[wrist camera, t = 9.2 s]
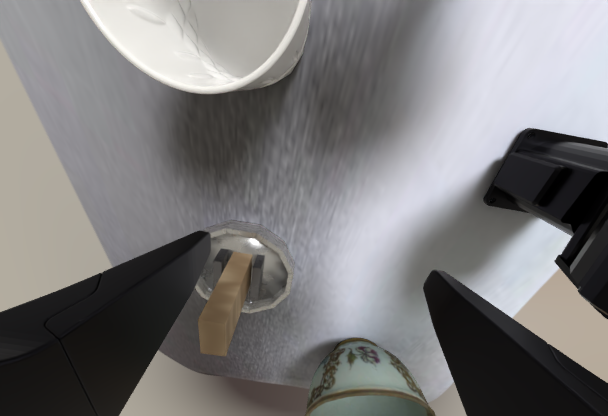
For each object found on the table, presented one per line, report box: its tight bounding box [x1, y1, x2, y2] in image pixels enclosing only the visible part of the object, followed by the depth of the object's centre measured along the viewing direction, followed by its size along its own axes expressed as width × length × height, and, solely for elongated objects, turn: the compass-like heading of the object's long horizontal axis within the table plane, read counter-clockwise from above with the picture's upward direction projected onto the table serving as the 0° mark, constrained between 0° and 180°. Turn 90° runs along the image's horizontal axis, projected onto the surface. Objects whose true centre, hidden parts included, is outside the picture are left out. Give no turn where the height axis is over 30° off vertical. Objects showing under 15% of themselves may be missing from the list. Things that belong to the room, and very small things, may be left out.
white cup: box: [80, 0, 312, 94], centre depth 11 cm, size 8×8×10 cm
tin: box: [195, 220, 295, 313], centre depth 24 cm, size 11×11×2 cm
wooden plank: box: [198, 252, 253, 356], centre depth 21 cm, size 2×4×8 cm, turn 171°
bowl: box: [305, 338, 435, 416], centre depth 27 cm, size 14×13×8 cm
